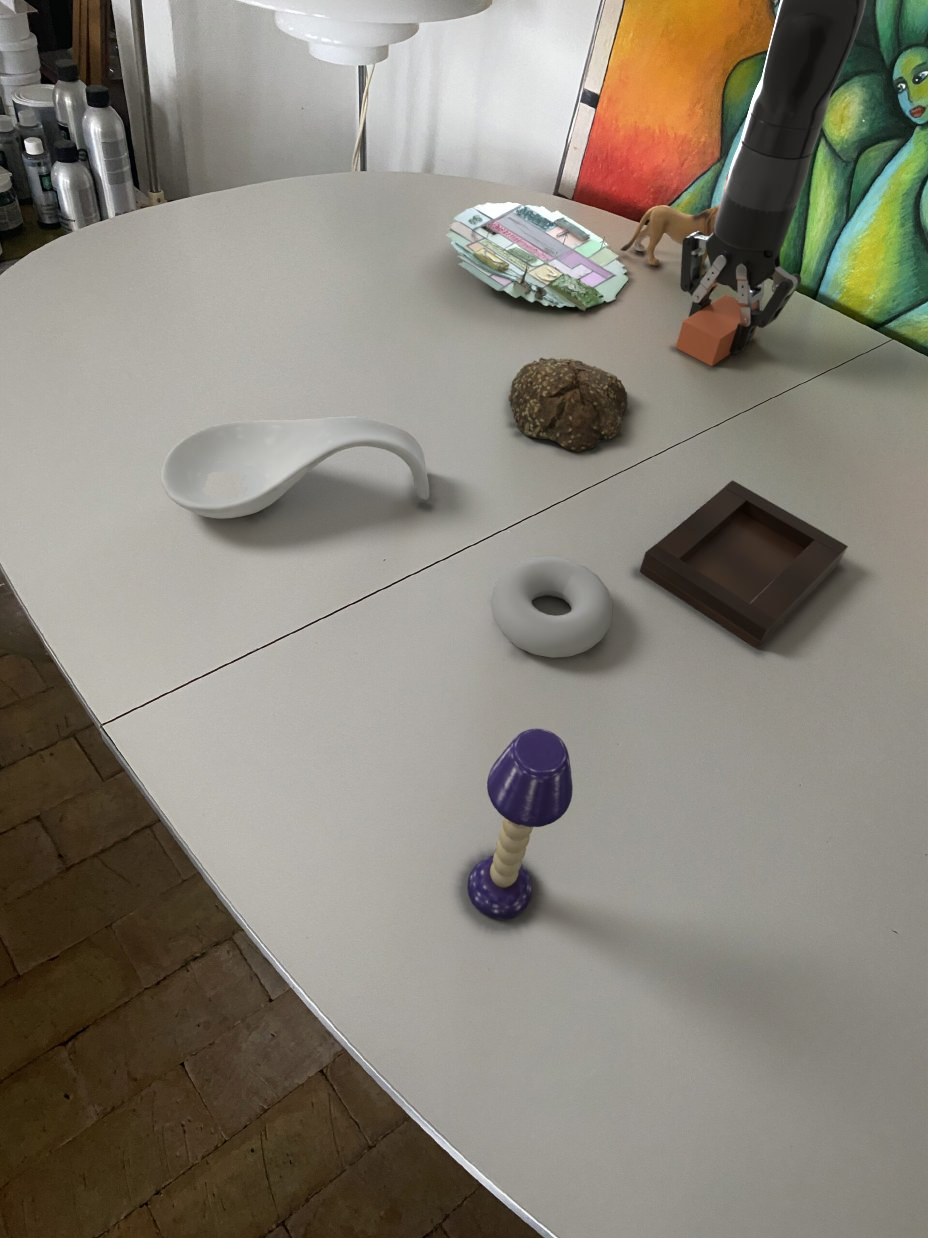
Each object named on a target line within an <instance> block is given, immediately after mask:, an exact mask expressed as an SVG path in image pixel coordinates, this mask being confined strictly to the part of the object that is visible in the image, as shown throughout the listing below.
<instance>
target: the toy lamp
mask: <svg viewBox="0 0 928 1238" xmlns="http://www.w3.org/2000/svg"><path fill="white" fill-rule="evenodd" d="M486 782H487V783H486V784H487V785H486V790H487V795H488V798H489V801H490V802H491V804H492V806H493V808H494V809H495V810H496V811H497V813H498V814H499V815H500V816H502V817H503V819H502V826H501V827H500V829H499V833H498V840H497V842H496V845H495V852H494V854H493V855H489V856H487V857H484V858H482V859H481V860H480V861H478V862H477V863H476V864H475V866H473V868H472V869H471V871H470V873H469V875H468V879H467V893H468V897H469V899H470V901H471V904H472V905H473V906H474V907H475V909H476V910H477V911H479V912H480V913H481V914H483V915H484V916H488V917H489V918H491V919H494V920H509V919H513V918H515V917H517V916H519V915H520V914H521V913H523V912H524V911H525V910H526V909H527V907H528V906H529V904H530V902H531V899H532V896H533V883H532V879H531V875H530V873H529V871H528V870H527V868H526V867H525V866H524V865H523V859H524V857H525V855H526V852H527V851H526V850H527V847H528V845H529V843H530V838H531V837H530V836H531V834H532V832H533V829H534V828H542V827H546V826H548V825H551V824H553V823H555V822H556V821H558V820H560V819H561V818H562V817H563V816H564V815H565V813H566V812H567V811H568V809H569V807H570V804H571V802H572V798H573V789H574V788H573V778H572V768H571V759H570V754H569V750H568V748H567V745H566V743H565V742H564V740H562V738H561V737H560V736H558V735H557V734H556V733H554V732H552V731H551V730H547V729H544V728H529V729H526V730H524V731H522V732H519V734H518V735H517V736H515V737H514V738H513V739H512V741H510V743H509V744H508V745H507V746H506V748H505V749H504V750H503V752H502V753H501V754H500V755H499V756H498V757H497V758H496V760H495V762H494V763H493V764H492V766H491V768H490V770H489V772H488V776H487V781H486Z"/></svg>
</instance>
